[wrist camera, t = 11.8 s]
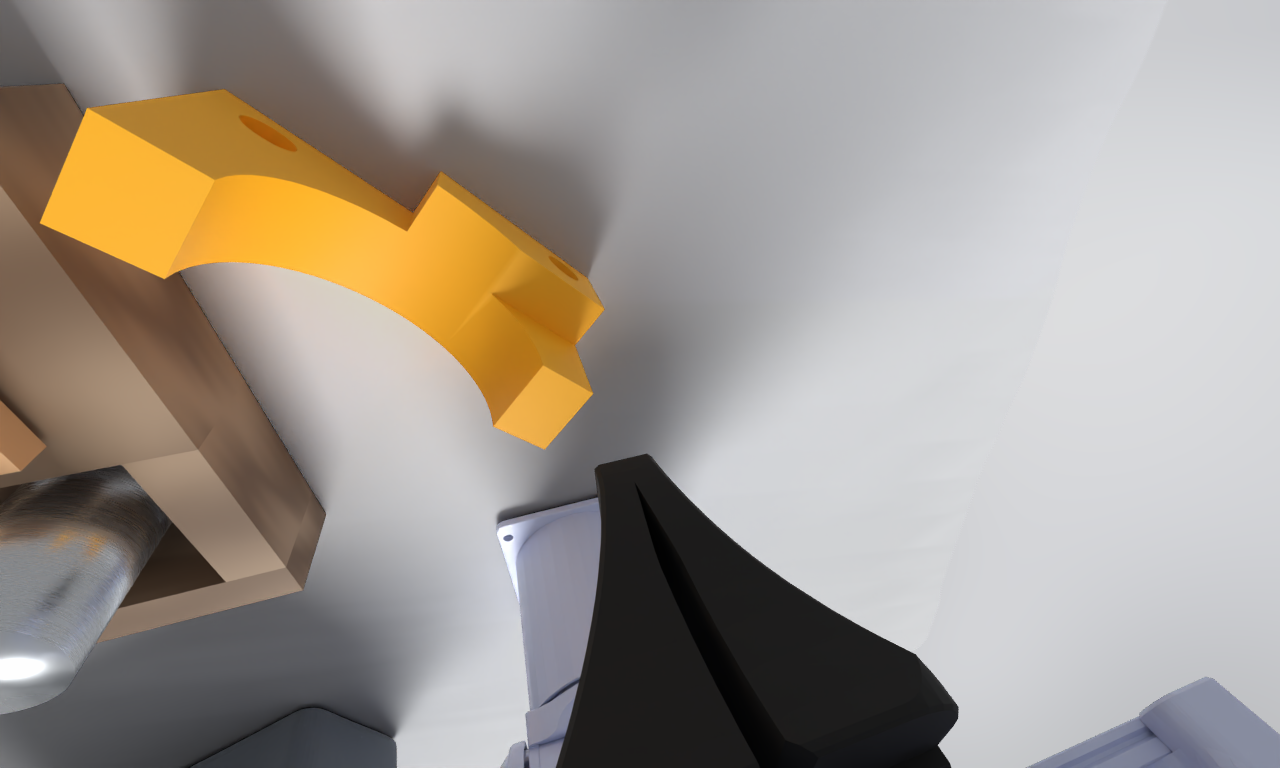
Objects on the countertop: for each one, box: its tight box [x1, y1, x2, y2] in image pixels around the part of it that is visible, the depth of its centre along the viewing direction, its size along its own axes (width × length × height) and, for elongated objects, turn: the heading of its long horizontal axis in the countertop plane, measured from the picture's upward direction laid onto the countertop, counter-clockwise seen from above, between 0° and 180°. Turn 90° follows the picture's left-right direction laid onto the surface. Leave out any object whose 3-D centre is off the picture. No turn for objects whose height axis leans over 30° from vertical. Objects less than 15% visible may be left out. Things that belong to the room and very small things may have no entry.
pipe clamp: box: [40, 89, 605, 450], centre depth 15 cm, size 12×4×6 cm, turn 47°
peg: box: [0, 465, 172, 715], centre depth 16 cm, size 4×4×8 cm
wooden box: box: [0, 84, 326, 643], centre depth 14 cm, size 17×10×6 cm, turn 2°
